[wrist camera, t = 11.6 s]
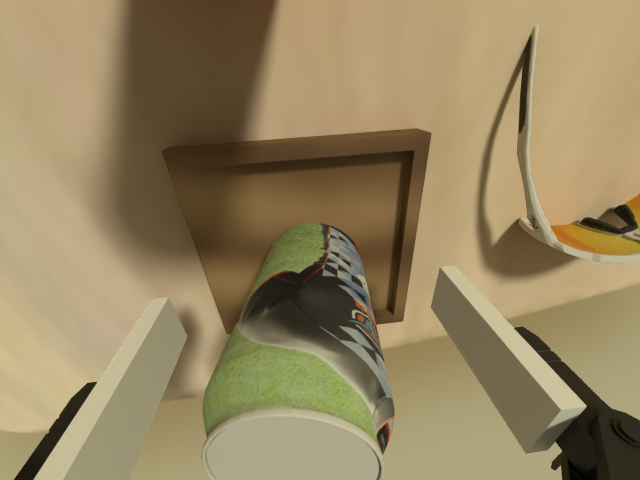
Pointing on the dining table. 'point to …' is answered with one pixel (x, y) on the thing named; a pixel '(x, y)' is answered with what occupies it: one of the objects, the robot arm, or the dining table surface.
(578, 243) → the sunglasses
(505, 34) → the dining table surface
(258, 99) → the dining table surface
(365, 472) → the beverage can
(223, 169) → the far tray
